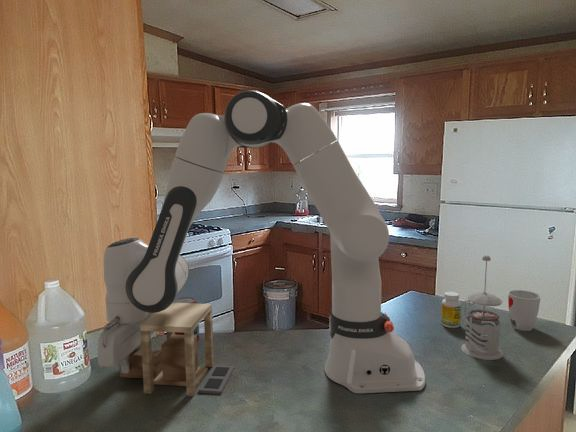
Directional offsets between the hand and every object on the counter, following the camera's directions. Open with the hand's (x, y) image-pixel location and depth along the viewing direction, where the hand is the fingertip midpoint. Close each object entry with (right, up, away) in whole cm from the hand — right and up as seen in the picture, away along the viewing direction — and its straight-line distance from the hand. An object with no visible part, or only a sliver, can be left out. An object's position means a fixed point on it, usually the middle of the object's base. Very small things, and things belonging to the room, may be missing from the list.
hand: (131, 367), depth 96 cm
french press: (+86, 0, +11) cm, 86 cm away
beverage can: (+9, 0, +17) cm, 19 cm away
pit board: (+20, -2, -2) cm, 21 cm away
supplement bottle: (+85, +2, +28) cm, 89 cm away
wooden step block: (+7, -2, -1) cm, 8 cm away
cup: (+104, +2, +25) cm, 107 cm away
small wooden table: (+12, -2, -1) cm, 12 cm away
